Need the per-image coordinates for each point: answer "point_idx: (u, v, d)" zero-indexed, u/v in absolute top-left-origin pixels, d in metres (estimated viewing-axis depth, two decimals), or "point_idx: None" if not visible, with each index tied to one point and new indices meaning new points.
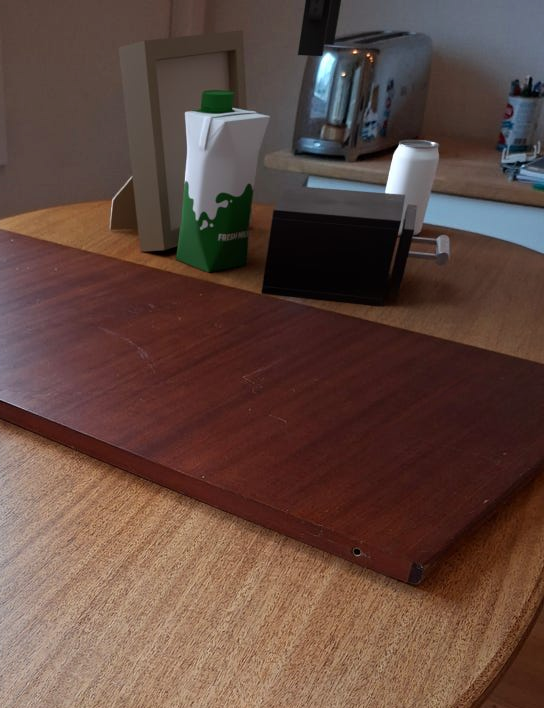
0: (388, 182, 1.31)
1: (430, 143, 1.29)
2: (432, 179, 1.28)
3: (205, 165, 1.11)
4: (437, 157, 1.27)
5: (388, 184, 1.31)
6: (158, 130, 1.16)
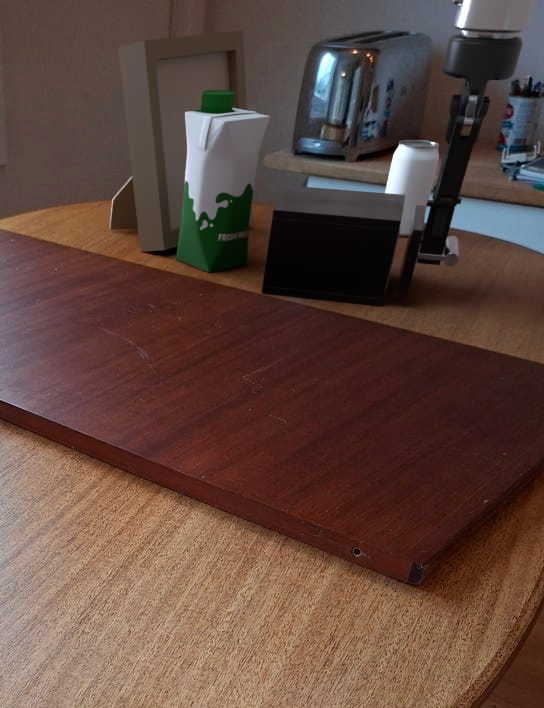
0: (388, 182, 1.31)
1: (430, 143, 1.29)
2: (432, 179, 1.28)
3: (205, 165, 1.11)
4: (437, 157, 1.27)
5: (388, 184, 1.31)
6: (158, 130, 1.16)
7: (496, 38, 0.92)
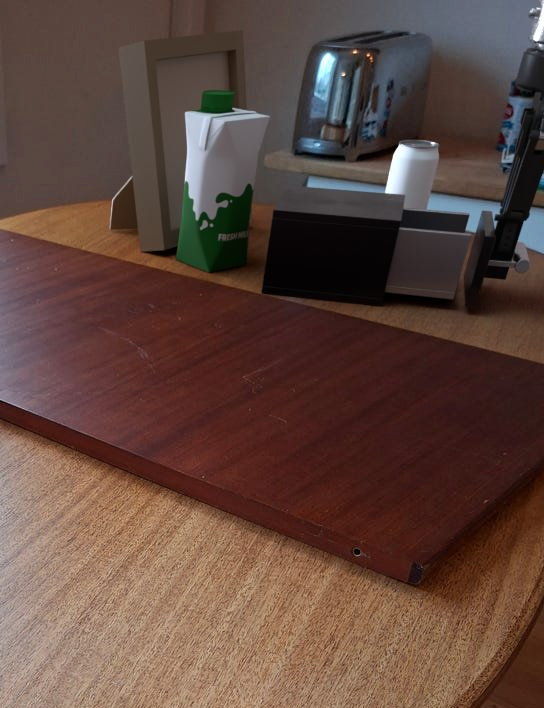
0: (388, 182, 1.31)
1: (430, 143, 1.29)
2: (432, 179, 1.28)
3: (205, 165, 1.11)
4: (437, 157, 1.27)
5: (388, 184, 1.31)
6: (158, 130, 1.16)
7: None
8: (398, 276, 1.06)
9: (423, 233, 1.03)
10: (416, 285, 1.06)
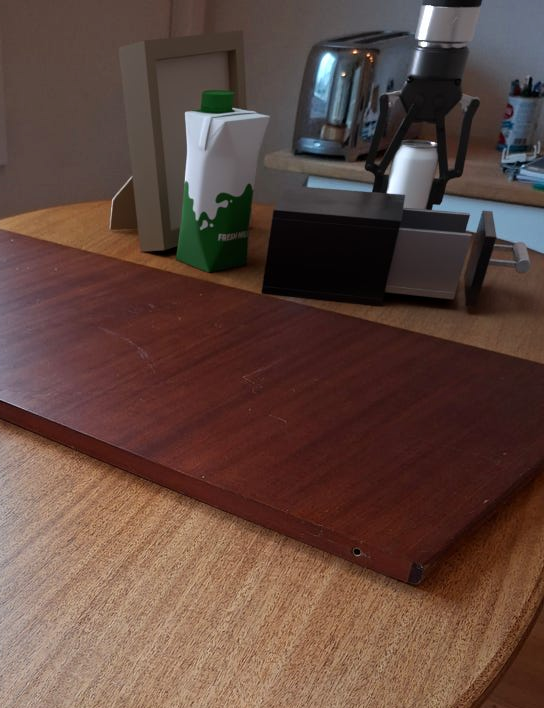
0: (388, 182, 1.31)
1: (430, 143, 1.29)
2: (432, 179, 1.28)
3: (205, 165, 1.11)
4: (437, 157, 1.27)
5: (388, 184, 1.31)
6: (158, 130, 1.16)
7: (418, 45, 1.20)
8: (399, 276, 1.06)
9: (423, 233, 1.03)
10: (416, 285, 1.06)
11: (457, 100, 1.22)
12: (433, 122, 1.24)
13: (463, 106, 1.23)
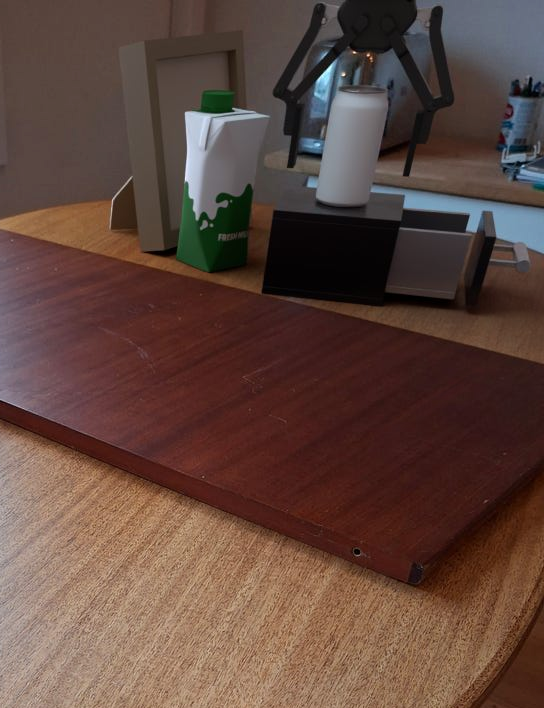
0: (326, 139, 1.04)
1: (378, 89, 1.02)
2: (380, 134, 1.02)
3: (205, 165, 1.11)
4: (385, 105, 1.00)
5: (326, 141, 1.04)
6: (158, 130, 1.16)
7: None
8: (399, 276, 1.06)
9: (423, 233, 1.03)
10: (416, 285, 1.06)
11: (412, 18, 0.95)
12: (381, 51, 0.98)
13: (423, 22, 0.95)
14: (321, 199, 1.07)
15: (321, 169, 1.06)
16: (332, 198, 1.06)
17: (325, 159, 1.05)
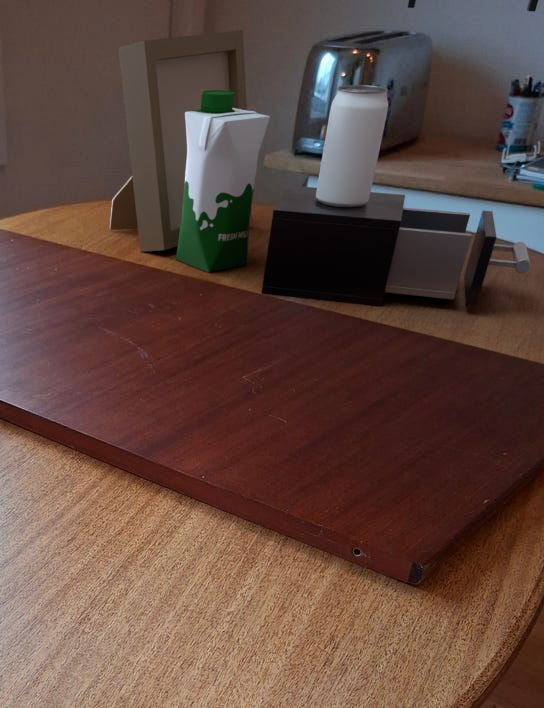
0: (326, 139, 1.04)
1: (377, 89, 1.02)
2: (380, 134, 1.02)
3: (205, 165, 1.11)
4: (385, 105, 1.00)
5: (326, 141, 1.04)
6: (158, 130, 1.16)
7: None
8: (399, 276, 1.06)
9: (423, 233, 1.03)
10: (416, 285, 1.06)
11: None
12: None
13: None
14: (321, 199, 1.07)
15: (321, 169, 1.06)
16: (332, 198, 1.06)
17: (325, 159, 1.05)
